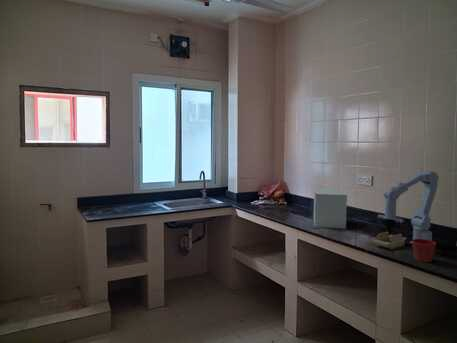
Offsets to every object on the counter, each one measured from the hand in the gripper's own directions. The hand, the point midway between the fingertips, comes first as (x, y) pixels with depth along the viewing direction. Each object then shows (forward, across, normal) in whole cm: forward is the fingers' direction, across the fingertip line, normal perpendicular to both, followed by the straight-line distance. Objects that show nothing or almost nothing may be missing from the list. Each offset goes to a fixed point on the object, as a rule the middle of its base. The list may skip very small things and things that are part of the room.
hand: (389, 232), depth 202 cm
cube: (+8, -55, +14) cm, 57 cm away
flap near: (+3, +4, 0) cm, 5 cm away
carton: (+8, 0, 0) cm, 8 cm away
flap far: (+3, -4, 0) cm, 5 cm away
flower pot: (+8, +24, -10) cm, 27 cm away
